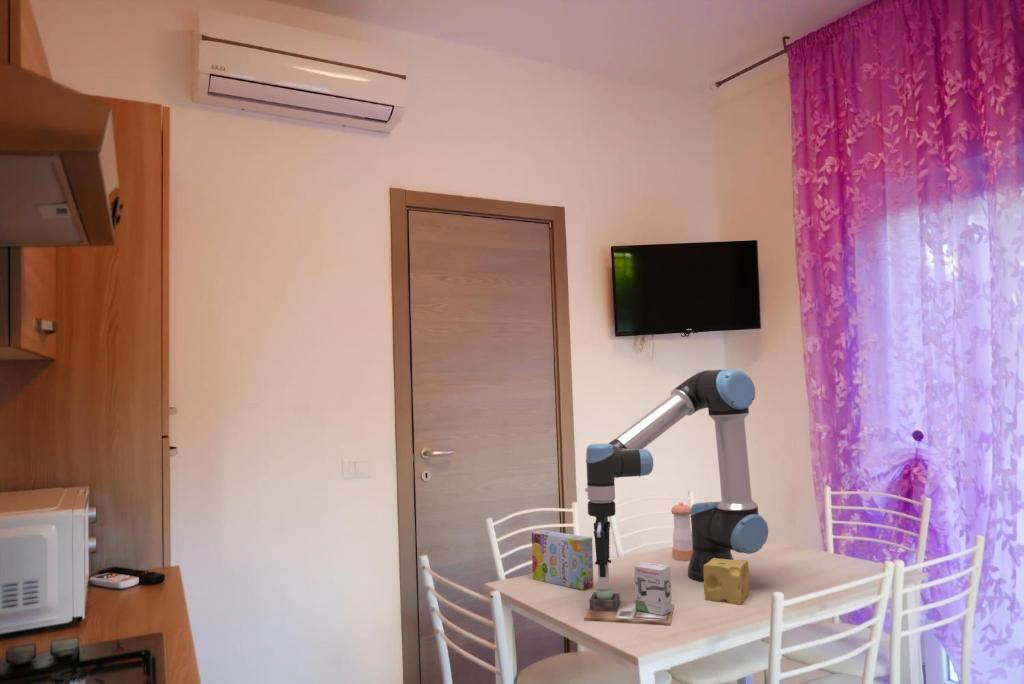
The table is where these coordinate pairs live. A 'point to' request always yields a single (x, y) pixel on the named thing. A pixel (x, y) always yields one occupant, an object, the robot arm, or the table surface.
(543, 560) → the snack box
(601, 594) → the button
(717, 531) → the robot arm
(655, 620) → the wooden tray
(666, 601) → the ink box
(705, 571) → the cheese
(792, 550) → the table surface
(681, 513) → the salt shaker
